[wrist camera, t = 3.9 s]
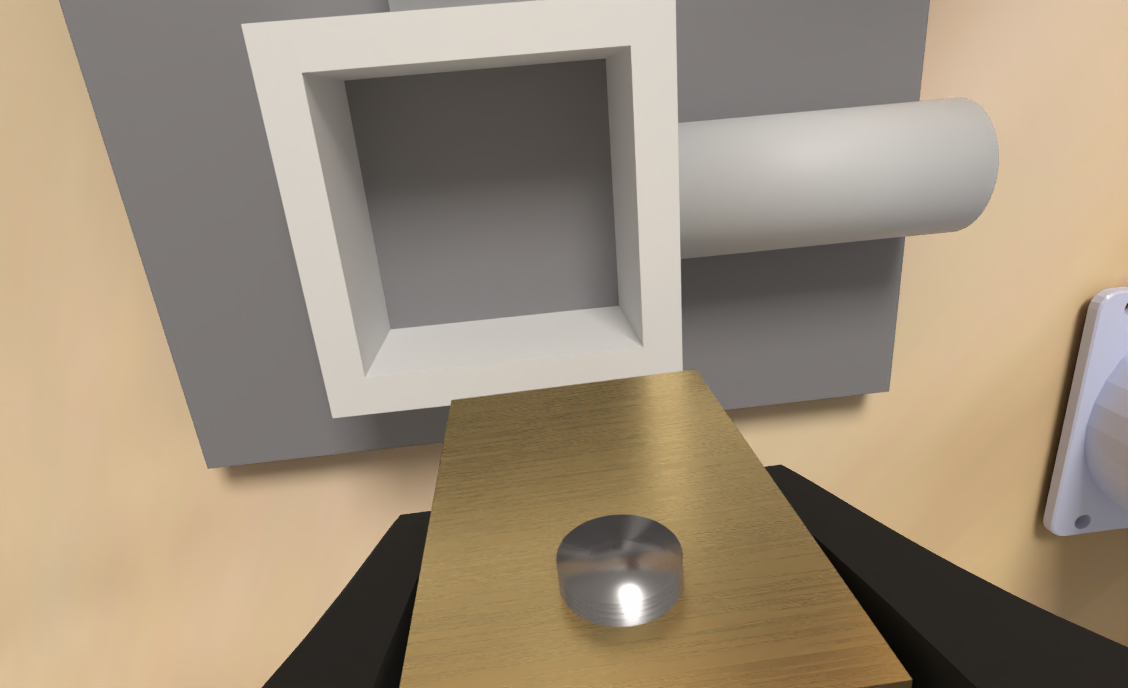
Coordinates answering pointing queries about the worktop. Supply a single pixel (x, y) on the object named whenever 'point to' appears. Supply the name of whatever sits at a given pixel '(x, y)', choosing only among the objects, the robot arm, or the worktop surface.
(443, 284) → the shaft board
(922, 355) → the worktop surface
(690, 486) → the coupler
